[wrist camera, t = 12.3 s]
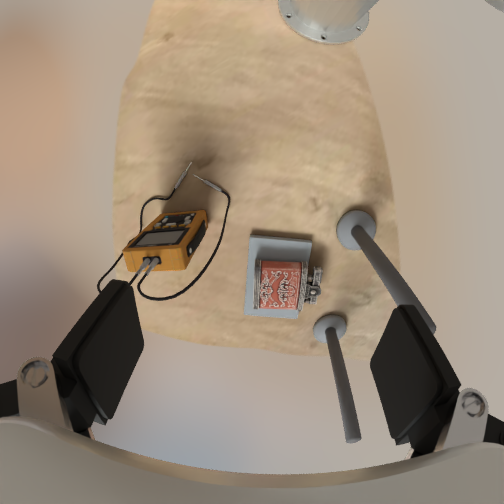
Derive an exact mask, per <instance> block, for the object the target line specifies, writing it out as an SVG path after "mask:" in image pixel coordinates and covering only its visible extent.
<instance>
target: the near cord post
mask: <svg viewBox="0 0 504 504" xmlns="http://www.w3.org/2000/svg"><path fill="white" fill-rule="evenodd" d="M336 232H337V237H338V239H339V241H340V242H341V244H342V245H343V246H344V247H345V248H347V249H350V250H360V249H362V251H363V252H364V254H365V255H366V257H367V258H368V260H369V261H370V263H371V264H372V266H373V267H374V269H375V270H376V272H377V274H378V275H379V277H380V278H381V280H382V281H383V283H384V285H385V286H386V288H387V289H388V291H389V293H390V294H391V296H392V298H393V299H394V301H395V303H396V304H397V306H399V305H401V304H406V305H414V306H415V307H416V308H417V310H418V311H419V313H420V314H421V316H422V317H423V319H424V321H425V322H426V324H427V325H428V327H429V329H430V330H431V332H432V333H433V334H434V333H435V331H436V325H435V324H434V322H433V321H432V319H431V317H430V316H429V315H428V313H427V312H426V310H425V309H424V307H423V306H422V304H421V303H420V301H419V300H418V298H417V297H416V296H415V294H414V293H413V291H412V290H411V289H410V287H409V286H408V285H407V283H406V282H405V280H404V279H403V278H402V276H401V275H400V274H399V272H398V271H397V270H396V268H395V267H394V266H393V264H392V263H391V262H390V261H389V259H388V258H387V257H386V255H385V254H384V253H383V252H382V250H381V249H380V248H379V247H378V245H377V244H376V243H375V242H374V241H373V239H374V236H375V233H376V225H375V222H374V220H373V219H372V217H371V216H370V215H369V214H367V213H366V212H364V211H361V210H352V211H349V212H347V213H346V214H344V215H343V216H342V217H341V218H340V220H339V222H338V224H337V229H336Z"/></svg>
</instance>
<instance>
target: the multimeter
mask: <svg viewBox="0 0 504 504" xmlns="http://www.w3.org/2000/svg"><path fill="white" fill-rule="evenodd" d="M191 164H192V162H191V163H190V164H189V166H188V168H189V167H190V165H191ZM188 168H187V169H186V171H185V172H184V171H183V174H182V175H181V177H180V178H179V180H178V182H177V183H176V185H175V188H174V190H173V192H172V193H171V195H170V196H169V198H166V199H164V198H152V199H150V200H149V201H147V202H146V203H145V204H144V205H143V207H142V210H141V215H140V232H139V234H138V235H137V236H136V237H135V238H133V239H132V240H130V241H129V243H128V244H127V246H126V247H125V248H124V249H123V250H122V254H121V255H120V257H119V258H118V260H117V261H116V262H115V263H114V265H113V266H112V267H111V268H110V270H109V271H108V272H107V273H106V274H105V275H104V276H103V277H102V278H101V279H100V280H99V282H98V284H97V289H98V291H99V293H101V290H100V287H99V286H100V283H101V281H102V280H103V279H104V277H105V276H106V275H107V274H108V273H109V272H110V271H111V270H112V269H113V268H114V267H115V265H116V264H117V263H118V261H119V260H120V259H121V257H122V256H123V255H124V258H125V262H126V265H127V269H128V271H130V272H136V273H135V276H134V277H133V278H132V280H131V281H130V282H129V286H130V285H131V284H132V283H133V281H134V280H135V279H136V277H137V276H139V274H140V273H141V272H142V271H146V272H145V275H144V276H143V277H142V279H141V280H140V282H139V283H138V285H137V289H138V291H139V293H140V294H141V295H142V296H143V297H145V298H147V299H150V300H156V301H163V300H168V299H172V298H175V297H177V296H179V295H181V294H183V293H184V292H185V291H187V290H188V289H189V288H190V287H191V286H193V285H194V283H195V282H196V281H197V280H198V279H199V278H200V277H201V276H202V274H203V273H204V272H205V270H206V269H207V267H208V266H209V264H210V263H211V261H212V259H213V257H214V256H215V254H216V252H217V250H218V248H219V245H220V243H221V240H222V236H223V232H224V228H225V223H226V217H227V213H228V209H229V205H230V197H229V195H228V194H227V193H226V192H224V191H223V190H221V189H220V188H219V187H217V186H216V185H214V184H212V183H210V182H209V181H207V180H206V179H205V180H203V179H201V178H200V177H198V176H196V175H194V174H193V175H194V176H195V177H197V178H199V179H200V180H202V181H204V183H205V184H207V185H209V186H211V187H212V188H214V189H216V190H218V191H220V192H222V193H224V194H225V195H226V196H227V197H228V206H227V210H226V214H225V219H224V224H223V228H222V232H221V236H220V239H219V242H218V244H217V246H216V248H215V250H214V252H213V254H212V256H211V258H210V259H209V261H208V262H207V264H206V265H205V267H204V268H203V270H202V271H201V272H200V274H199V275H198V276H197V277H196V278H195V279H194V280H193V281H192V282H191V283H190V284H189V285H188V286H187V287H186V288H184V289H183V290H182V291H180V292H178V293H176V294H175V295H172V296H168V297H163V298H156V297H150V296H147V295H145V294H144V293H142V291H141V289H140V284H141V283H142V281H143V280H144V279H145V277H146V276H148V274H149V273H150V271H174V270H175V271H179V270H185V269H186V268H187V266H188V264H189V262H190V260H191V258H192V256H193V254H194V252H195V251H196V249H197V247H198V246H199V244H200V242H201V241H202V239H203V237H204V235H205V232H206V230H207V228H208V223H207V216H206V211H205V210H198V211H187V212H177V213H164V214H160V215H159V216H158V217H157V218H156V219H155V220H154V221H152V222H151V223H150V224H149V225H148V226H147V227H146V228H145V229H144V230H143V231H142V212H143V209H144V207H145V205H146V204H147V203H148V202H150V201H152V200H154V199H160V200H168V199H170V198H171V196H172V195H173V193H174V192H175V190H176V188H177V187H178V186H179V185H180V183H181V181H182V180H183V178H184V177H185V175H186V174H187V173H186V172H187V170H188ZM141 231H142V232H141Z"/></svg>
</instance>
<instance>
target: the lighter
mask: <svg viewBox="0 0 504 504" xmlns="http://www.w3.org/2000/svg"><path fill="white" fill-rule="evenodd" d="M307 271H308V266H307V261H301V262H280V261H261V259H255V264H254V289H253V309H259V308H264V309H293V310H297V311H302V309H303V304H304V302H305V303H309V304H316V302H317V296H319V295H320V294H321V289H320V286H319V283H321V278H322V271H323V269H322V268H321V267H317V266H314V268H313V275H311V274H307ZM311 279H312V282H310V281H308V280H311Z"/></svg>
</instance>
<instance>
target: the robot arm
mask: <svg viewBox="0 0 504 504" xmlns="http://www.w3.org/2000/svg"><path fill="white" fill-rule="evenodd" d="M378 1H379V0H278V7H279V12H280V14H281V16H282V18H283V20H284V21H285V22H286V24H287V25H288V26H289V27H290V28H291V29H292V30H294V31H295V32H296V33H298V34H299V35H301V36H303V37H305V38H307V39H309V40H312V41H314V42H318V43H323V44H332V45H335V44H344V43H347V42H350V41H352V40H355V39H356V38H357V37H359V36H360V35H361V34H362V33H363V32H364V31H365V29H366V27H367V25H368V21H369V12H368V11H369V10H370V9H371V8H372V7H373V6H374V5H375V4H376V2H378ZM485 1H486V2H488V3H489V4H490V5H492V6H493V7H495V8H496V9H498V10H500V11H502V12H504V0H485ZM287 16H289V17H290V18H288V17H287ZM357 29H358V30H359V31H358V30H357ZM322 37H323V38H325V40H324V39H322ZM143 348H144V339H143V335H142V331H141V326H140V322H139V317H138V312H137V307H136V302H135V296H134V291H133V288H132V286H129V283H128V282H127V281H121V280H115V279H113V280H111V281H110V282H109V283H108V284H107V285H106V287H105V288H104V289H103V290H102V291H101V293H100V294H99V295H98V296H97V298H96V299H95V300H94V301H93V302H92V304H91V305H90V306H89V307H88V309H87V310H86V311H85V313H84V314H83V315H82V316H81V318H80V319H79V320H78V321H77V323H76V324H75V325H74V327H73V328H72V329H71V331H70V332H69V333H68V335H67V336H66V338H65V339H64V340H63V341H62V343H61V344H60V346H59V347H58V348H57V350H56V351H55V352H54V354H53V355H52V356H53V359H52V360H51V362H50V361H49V360H48V359H46V358H43V357H33V358H31V359H28V360H27V361H26V362H24V363H23V364H22V365H21V367H20V368H19V370H18V373H17V379H16V380H13V381H9V382H6V383H3V384H0V504H504V422H503V421H501V420H499V419H497V418H495V417H493V416H491V415H490V414H488V403H487V401H486V399H485V397H484V396H483V395H482V394H481V393H480V392H479V391H477V390H475V389H472V388H467V389H464V390H462V391H461V392H459V390H458V389H459V387H460V386H461V383H460V381H459V379H458V378H457V376H456V374H455V372H454V370H453V368H452V366H451V365H450V363H449V361H448V359H447V357H446V356H445V354H444V352H443V350H442V349H441V347H440V345H439V343H438V342H437V340H436V338H435V337H434V335H433V333H432V332H431V330H430V329H429V327H428V325H427V324H426V322H425V321H424V319H423V317H422V316H421V314H420V313H419V311H418V310H417V308H416V307H415V306H414V305H406V304H401V305H399V306H398V307H397V308H395V309H394V310H393V312H392V314H391V317H390V319H389V321H388V324H387V326H386V328H385V331H384V333H383V335H382V337H381V339H380V342H379V344H378V346H377V348H376V350H375V352H374V354H373V356H372V358H371V361H370V368H371V371H372V374H373V377H374V380H375V383H376V387H377V390H378V393H379V396H380V400H381V403H382V407H383V410H384V413H385V417H386V421H387V424H388V428H389V432H390V435H391V437H392V438H393V439H395V442H396V445H400V444H405V443H409V442H410V444H411V448H410V450H409V452H408V454H407V456H406V458H405V460H403V461H399V462H394V463H390V464H385V465H380V466H374V467H369V468H363V469H356V470H348V471H341V472H330V473H317V474H291V475H276V474H274V475H273V474H249V473H237V472H227V471H218V470H210V469H203V468H197V467H191V466H186V465H180V464H176V463H171V462H166V461H162V460H157V459H154V458H150V457H146V456H142V455H139V454H135V453H132V452H128V451H126V450H122V449H119V448H116V447H113V446H110V445H107V444H104V443H101V442H98V441H96V440H95V438H94V435H93V432H92V430H91V425H92V423H93V421H94V422H97V423H100V424H102V425H106V423H107V420H108V419H112V418H113V416H114V413H115V411H116V409H117V406H118V404H119V402H120V399H121V397H122V395H123V392H124V390H125V388H126V386H127V383H128V381H129V379H130V377H131V375H132V372H133V370H134V368H135V366H136V363H137V361H138V359H139V357H140V355H141V353H142V351H143Z"/></svg>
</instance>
